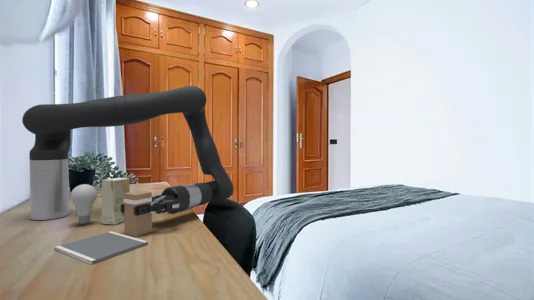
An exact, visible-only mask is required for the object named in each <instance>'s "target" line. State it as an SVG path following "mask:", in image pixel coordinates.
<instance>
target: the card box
mask: <svg viewBox="0 0 534 300" xmlns="http://www.w3.org/2000/svg"><path fill="white" fill-rule="evenodd" d="M152 196H153V195H152V192H151V191H147V190H146V191H145V190H135V191H129V193H124V221H123V223H124V224H123V226H124V228H123V230H124V231H123V235H126V236H130V237H134V238H137V237H139V236H143V235H147V234H148V233H152V232H153V216H152V215H153V213H152V214H151V213H147V214H143V215H139V216H135V215H134V214H133V208H134V207H135V206H139V205H144V204H149V203H151V202H152Z"/></svg>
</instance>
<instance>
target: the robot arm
mask: <svg viewBox="0 0 534 300" xmlns="http://www.w3.org/2000/svg"><path fill="white" fill-rule="evenodd" d="M206 105H207V95H206V93H205V91H204V90H203V89H202V88H200V87H198V86H194V85H187V86H186V85H185V86H182V87H179V88H178V87H177V88H174V89H170V90H169V89H168V90H164V91H159V92H157V91H156V92H147V93H146V92H145V93H136V94H124V95H115V96H109V97H104V98H97V99H96V98H95V99H90V100H87V101H82V102H74V103H73V102H71V103H57V104H56V103H51V104H48V103H47V104H44V103H43V104H42V103H41V104H36V105H33V106H32V107H30V108H28V109H27V110H26V111H25V112H24V113H23V115H22V119H21V121H22V124H23V127H24V128H25V130H27V131H28V132H30V133H31V134H34V136H35V137H34V145H33V147H32V148H31V149H30V150H29V157H28V158H29V194H30V195H29V198H30V205H29V206H30V213H29V214H30V219H31V220H33V221H46V220H54V219H55V220H56V219H60V218H64V217H66V216H69V215H70V189H69V188H70V187H69V185H70V184H69V182H70V181H69V179H70V178H69V175H70V173H69V171H70V170H69V152H70V151H71V142H72V139H71V138H72V130H76V129H81V128H83V129H84V128H107V127H109V128H111V127H122V126H127V125H128V126H129V125H134V124H135V125H136V124H139V123H144V122H146V121H149V120H151V119H152V120H153V119H155V118H158V117H160V116H163V115H170V114H171V115H172V114H179V113H180V114H181V113H182V115H183V118H184V119H185V121H186V123H187V125H188V128H189V130H190V135H191V137H192V141H193V144H194V149H195V152H196V156H197V159H198V163H199V166H200V170H201V172H202V173H203V174H204V175H205V176H211V177H212V178H213V180H211V181H210V180H209V181H206V182H196V183H191V184H190V183H189V184H187V183H185V184H179V185H175V186H170V187H169V186H168V187H166V188H164V189H163V191H162V192H161V194H154V195H152V202H151V203H149V204H144V205H139V206H135V207H134V208H133V214H134V215H135V216H139V215H143V214H147V213H151V214H152V215H153V214H155V213H156V215H160V214H166V213H167V214H169V215H174V214H178V213H181V212H185V211H189V210H192V209H193V208H196V207H200V206H204V205H206V204H208V203H213V202H217V201H222V200H227V199H230V198H231V197H232V196H233V194H234V189H235V188H234V183H233V181H232V179H231V178H230V176H229V175H228V173H227V171H226V169H225V168H224V166H223V165H222V162H221V159H220V155H219V151H218V148H217V146H216V143H215V140H214V138H213V136H212V134H211V132H210V129H209V126H208V122H207V117H206V110H205V109H206ZM121 213H124V204H121Z"/></svg>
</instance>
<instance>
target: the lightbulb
mask: <svg viewBox="0 0 534 300" xmlns="http://www.w3.org/2000/svg"><path fill="white" fill-rule="evenodd" d="M97 192H98V191H97V189H96V188H95V187H94V186H92V185H91V184H87V183H83V184H79V185H77V186H75V187H74V188H72V191H71V193H70V194H69V199H70V200H71V202H72V204H73V205H74V207H75V209H76V215H77V216H78V217H77V218H78V223H79V224H81V225H87V224H88V223H89V222H90V221H91V214H92V208H93V205H94V203H95V202H96V200H97V197H98V193H97Z"/></svg>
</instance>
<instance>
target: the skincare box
mask: <svg viewBox="0 0 534 300" xmlns="http://www.w3.org/2000/svg"><path fill="white" fill-rule="evenodd" d="M130 180H131V179H130V178H127V177H114V178H113V177H112V178H107V179H102V180H101V224H104V225H115V226H116V225H117V224H120V223H122V222H123V223H124V213H121V204H124V193H129V192H130V185H131V184H130Z"/></svg>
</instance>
